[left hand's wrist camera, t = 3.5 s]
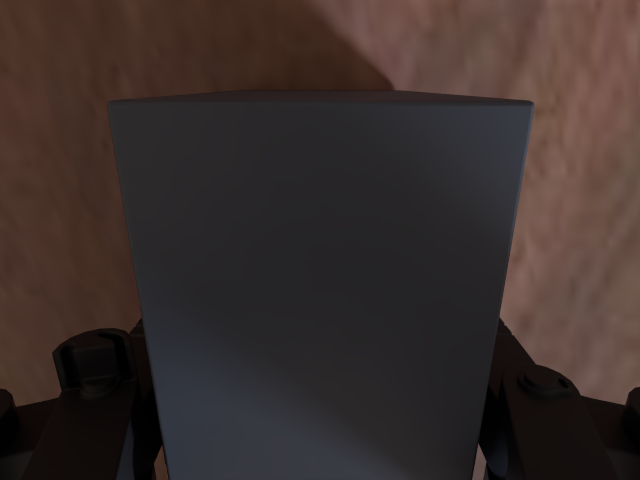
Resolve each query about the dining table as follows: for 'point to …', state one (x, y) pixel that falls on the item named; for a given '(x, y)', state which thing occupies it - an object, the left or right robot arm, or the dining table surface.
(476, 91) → the dining table surface
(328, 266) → the bar
